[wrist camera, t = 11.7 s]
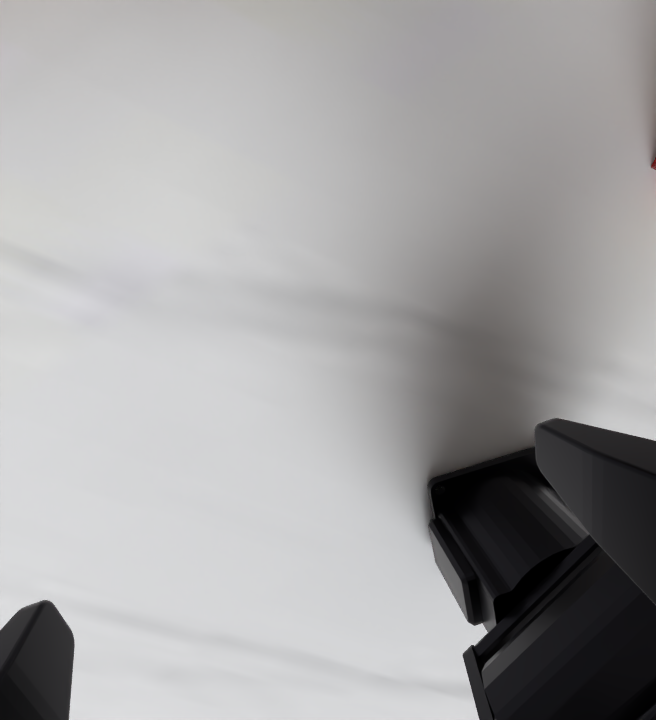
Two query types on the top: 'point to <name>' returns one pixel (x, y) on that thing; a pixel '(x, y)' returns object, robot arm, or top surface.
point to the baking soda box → (654, 164)
